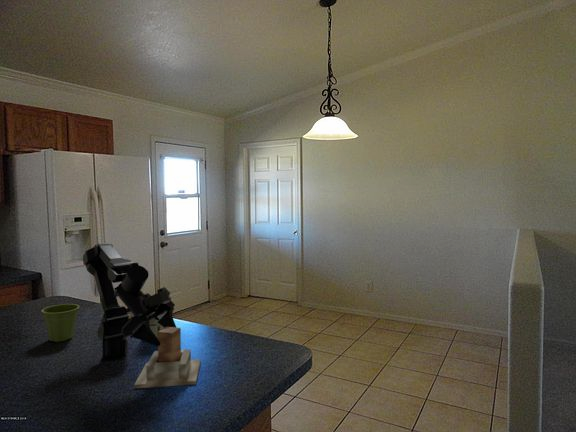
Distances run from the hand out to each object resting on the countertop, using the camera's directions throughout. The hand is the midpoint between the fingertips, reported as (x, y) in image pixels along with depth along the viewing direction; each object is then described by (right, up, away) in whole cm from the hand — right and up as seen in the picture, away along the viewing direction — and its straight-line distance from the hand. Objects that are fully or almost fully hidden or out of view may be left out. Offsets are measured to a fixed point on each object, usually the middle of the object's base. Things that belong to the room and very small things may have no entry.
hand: (168, 339), depth 108 cm
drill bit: (-31, -9, +42) cm, 53 cm away
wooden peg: (0, -9, 0) cm, 9 cm away
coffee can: (-14, -9, +30) cm, 35 cm away
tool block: (0, -10, 0) cm, 10 cm away
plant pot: (-48, -9, +29) cm, 57 cm away
